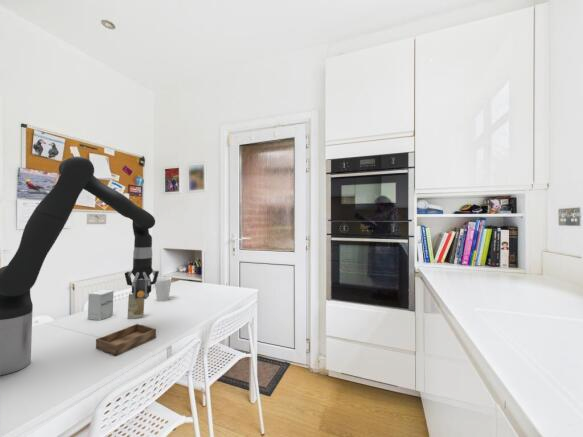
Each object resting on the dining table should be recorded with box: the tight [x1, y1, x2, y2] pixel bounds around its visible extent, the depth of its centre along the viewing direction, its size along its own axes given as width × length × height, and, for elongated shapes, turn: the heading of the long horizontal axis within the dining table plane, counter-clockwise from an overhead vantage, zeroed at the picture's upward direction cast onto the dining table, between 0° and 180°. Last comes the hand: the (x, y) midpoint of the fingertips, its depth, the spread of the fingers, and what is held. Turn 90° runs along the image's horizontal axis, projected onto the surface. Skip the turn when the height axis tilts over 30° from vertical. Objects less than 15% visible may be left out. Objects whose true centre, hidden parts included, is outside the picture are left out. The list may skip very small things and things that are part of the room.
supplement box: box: [87, 289, 114, 321], centre depth 125 cm, size 7×7×13 cm
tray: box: [95, 323, 157, 357], centre depth 99 cm, size 16×12×4 cm
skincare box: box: [127, 291, 145, 320], centre depth 126 cm, size 6×4×12 cm
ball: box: [137, 291, 145, 298], centre depth 113 cm, size 3×3×3 cm
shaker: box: [134, 279, 150, 300], centre depth 115 cm, size 5×5×8 cm
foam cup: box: [154, 276, 172, 302], centre depth 154 cm, size 10×9×13 cm
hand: (141, 293), depth 115 cm, fingers closed on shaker, 5 cm apart
